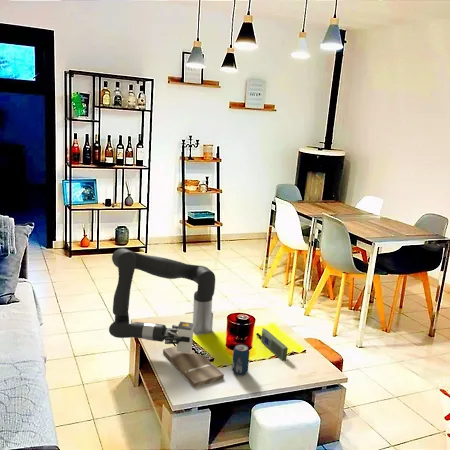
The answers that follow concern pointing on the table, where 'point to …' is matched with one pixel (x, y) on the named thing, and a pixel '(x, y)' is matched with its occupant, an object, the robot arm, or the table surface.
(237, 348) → the soda can
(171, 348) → the subfloor panel
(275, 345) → the handheld radio
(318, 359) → the table surface
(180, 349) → the white tall block
